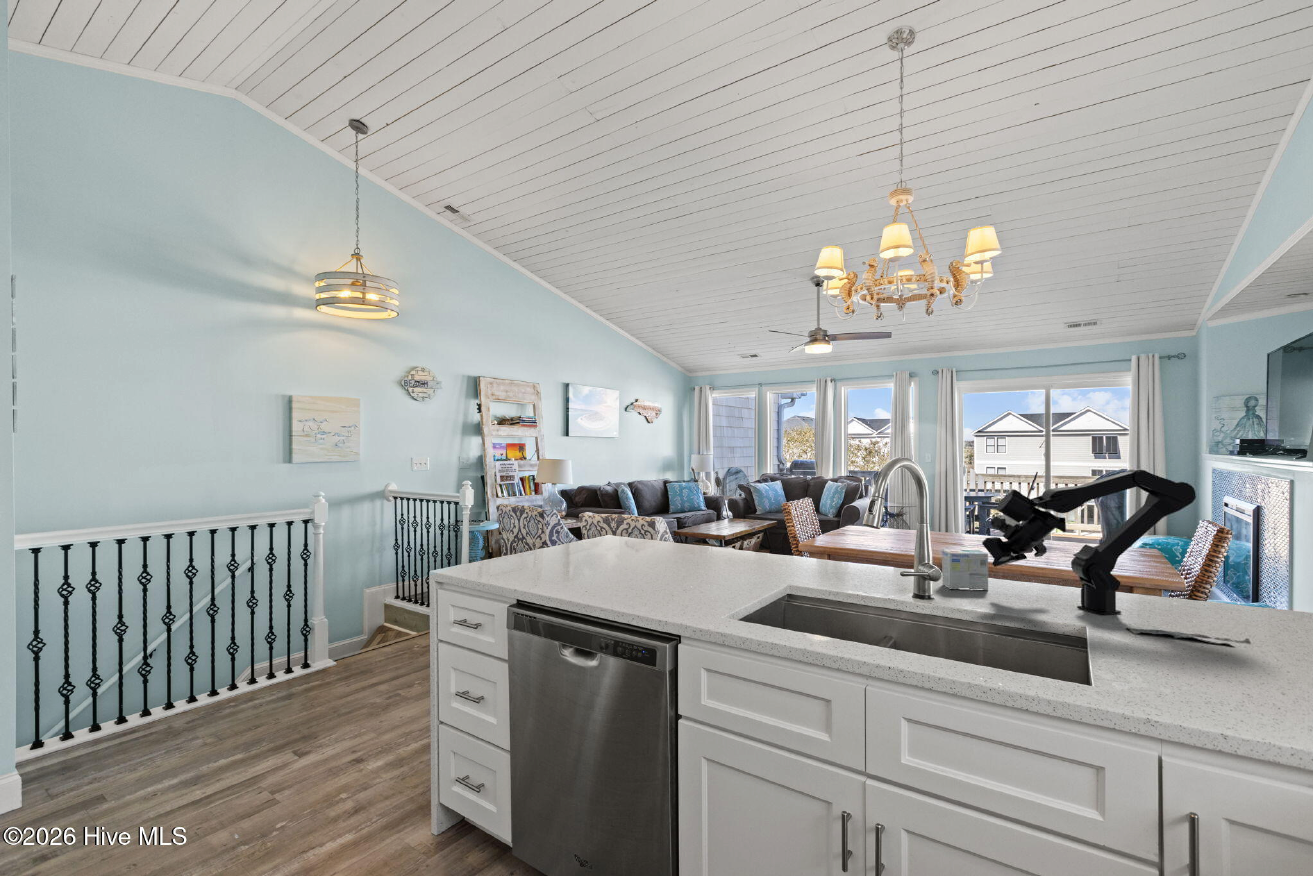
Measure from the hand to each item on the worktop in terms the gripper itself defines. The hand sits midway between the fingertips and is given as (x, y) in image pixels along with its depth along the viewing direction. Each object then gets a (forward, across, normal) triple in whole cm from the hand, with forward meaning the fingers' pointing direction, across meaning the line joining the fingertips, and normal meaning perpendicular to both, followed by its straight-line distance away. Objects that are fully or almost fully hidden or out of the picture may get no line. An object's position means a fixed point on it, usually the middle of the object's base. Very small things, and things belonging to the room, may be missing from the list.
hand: (994, 565), depth 163 cm
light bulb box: (+13, 0, -1) cm, 13 cm away
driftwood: (-23, -5, +36) cm, 43 cm away
